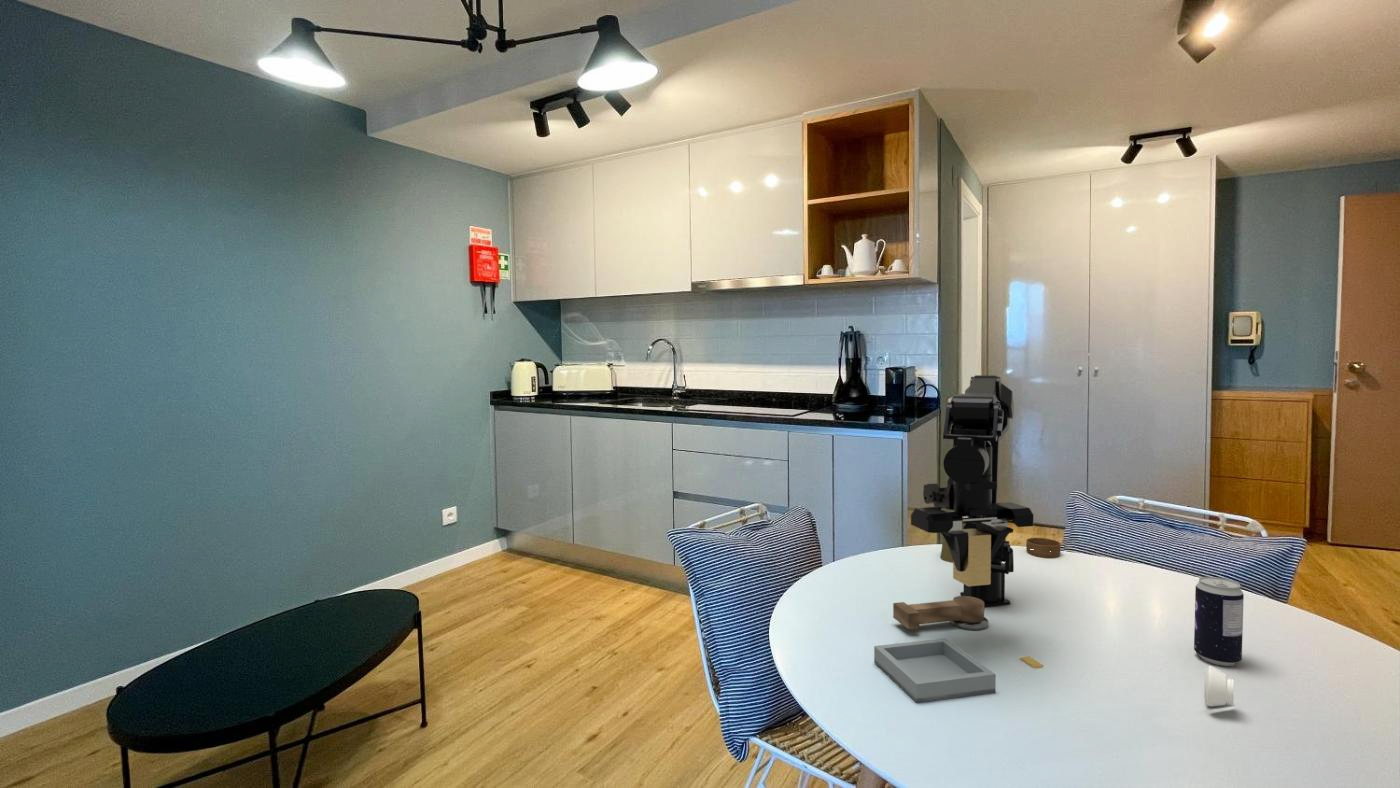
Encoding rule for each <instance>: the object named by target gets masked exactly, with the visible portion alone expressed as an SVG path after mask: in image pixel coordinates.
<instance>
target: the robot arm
mask: <svg viewBox="0 0 1400 788" xmlns="http://www.w3.org/2000/svg"><path fill="white" fill-rule="evenodd" d="M969 383H970V384H969V386H968V387H967V388H966V390H964V393H957V394H954V395H953V396H952V397H951V400H950V402H949V401H948V402H947V403H946V408H945V409H946V410H945V416H944V417H945V418H944V424H943V425H944V426H943V434H942V439H943V440H952V441H953V445H952V448H950V449H949V450H948V451H947V453H946V454H945V455H944V458H943V464H942V465H943V469H944V472H945V474H946V475H947V476H948V479H947V485H946V486H945V487H940V486H939V484H938V483H927V484H924V485H923V493H922V496H923V501H924V503H925V504H926V505H929V504H930V505H931V504H932V505H933V506H930V507H929V506H928V507H915V508H914V509H913V510H912V513H911V514H910V525H911V526H913V527H915V528H918V529H920V530H922V531H924V532H926V533H930V534H941V535H942V538H943V537H944V539H945V541H946V543H947V545H948V547H949V550H950V553H951V555H952V558H953V561H954V564H955V567H956V569H957V570H958V571H960V572H962V571H963V568H964V564H965V556H966V548H967V540H968V533H967V532H965V531H962V523H966V524H965V526H964V529H978V530H980V531H983V532H986V533H988V534H991V584H989V585H978V586H966V585H965V584H963V591H962V592H960V594H959V596H970V597H975V598H978V599H981V600H982V601H984V607H991V606H993V607H994V606H1003V605H1010V604H1011V600H1009V599H1007V598H1005V597H1006V596H1005V595H1006V593H1005V590H1006V589H1005V588H1006V585H1005V584H1006V583H1005V581H1006V580H1005V579H1006V575H1009V573H1014V564H1015V563H1014V549H1013V548H1012V547H1011V544H1010V541H1009V540H1007V536H1008V535H1009V534H1012V533H1014V529H1013V528H1011V527H1009V526H1008V524H1009V523H1008V521H1012V523H1013V524H1014V525H1015V526H1016V528H1023V527H1025V528H1026V527H1034V524H1035V523H1034V521H1035V519H1034V517H1035V516H1034V515H1035V514H1034V513H1033V512H1032V510H1031V508H1030V507H1028V506H1024V505H1021V504H1018V503H1015V502H1008V501H1007V502H999V484H1000V482H999V480H1000V479H999V477H1000V475H999V474H1000V449H1001V448H1000V447H1001V440H1002V438H1004V436H1005V435H1006V433H1007V432H1008V431H1009V429H1010V419H1014V412H1015V411H1014V410H1015V409H1014V406H1015V405H1014V394H1013V393H1014V392H1013V391H1012V390H1011V389H1010V388H1009V387H1008V386H1006V385H1005V384H1003V383H1002V379H1001V376H998V375H996V374H995V375H993V374H989V375H988V374H985V375H983V374H982V375H978V374H977V375H976V374H975V375H974V376H970V381H969ZM943 509H946V510H949V512H948V511H946V510H943ZM962 517H963V518H962Z"/></svg>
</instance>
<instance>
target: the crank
mask: <svg viewBox="0 0 1400 788" xmlns="http://www.w3.org/2000/svg"><path fill="white" fill-rule="evenodd" d="M892 605H893V606H892V607H893V608H892V611H893V612H892V613H893V614H892V615H893V616H892V617H893V619H894V620H895V621H897V622H898V623H900V625H902V626H904V627H905V628H906V629H907V630H913V629H914V630H915V629H920V625H928V624H935V623H936V624H938V623H947V622H948V623H949V621H958V620H961V621H965V622H972V623H976V622H982V621H983V620H984V617H985V606H984V601H982V600H981V599H978V598H975V597H970V596H961V595H959V596H958V595H957V596H955V597H953V599H952V600H943V601H942V600H941V601H933V602H923V603H922V602H921V603H912V604H908V603H906V602H905V601H900V602H893V604H892Z"/></svg>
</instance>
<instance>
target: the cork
mask: <svg viewBox="0 0 1400 788" xmlns="http://www.w3.org/2000/svg"><path fill="white" fill-rule="evenodd" d="M962 518H964V517H962ZM965 524H966V523H962V529H964V526H965ZM940 551H941V552H940V559H941V560H942V561H944V562H946V563H951V564H953V558H952V555H951V553H950V550H949V547H948V545H947V543H946V541H945V539H944V537H943V536H942V544H941V550H940Z"/></svg>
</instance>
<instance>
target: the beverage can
mask: <svg viewBox="0 0 1400 788" xmlns="http://www.w3.org/2000/svg"><path fill="white" fill-rule="evenodd" d="M1194 590H1195V593H1194V628H1193V629H1194V633H1193V639H1194V640H1193V650H1194V651H1195V653H1196V654H1198V655H1199V657H1200V658H1201V660H1203V661H1206V662H1208V663H1210V664H1213V665H1218V666H1225V667H1232V666H1234V665H1236V664H1237V663H1239V662H1241V661H1242V660H1243V659H1242V658H1243V630H1244V628H1243V627H1244V598H1245V597H1244V596H1245V595H1244V593H1243V590H1242V589H1241V584H1240V583H1238V582H1236V581H1235V580H1231V579H1227V578H1223V577H1218V576H1217V577H1215V576H1201V577H1199V578H1198V582H1197V584H1196V585H1195V589H1194Z"/></svg>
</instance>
